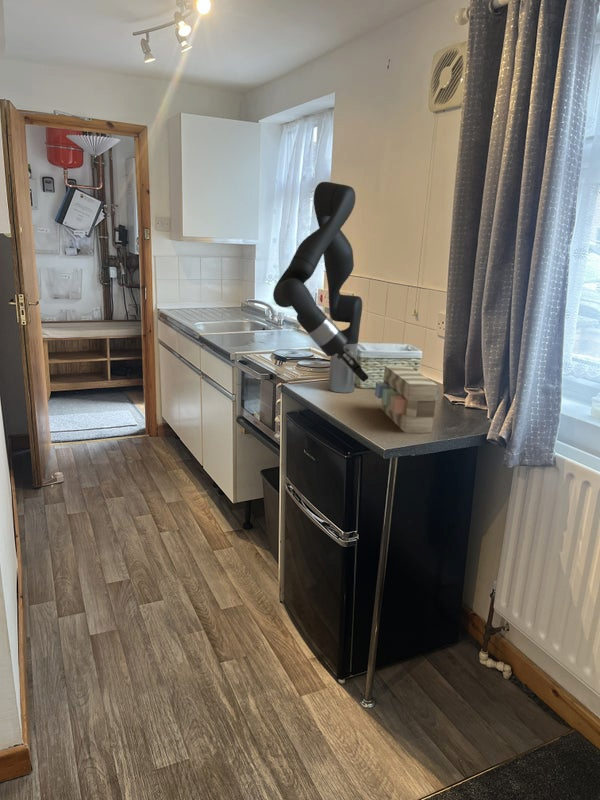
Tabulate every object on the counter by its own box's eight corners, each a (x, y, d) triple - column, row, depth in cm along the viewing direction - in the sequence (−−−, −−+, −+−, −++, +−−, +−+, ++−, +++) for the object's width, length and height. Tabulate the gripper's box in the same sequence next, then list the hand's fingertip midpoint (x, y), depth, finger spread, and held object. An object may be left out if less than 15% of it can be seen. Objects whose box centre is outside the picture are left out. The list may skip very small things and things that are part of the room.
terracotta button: (389, 409, 169) (391, 395, 168) (400, 409, 169) (401, 396, 168) (394, 413, 165) (395, 399, 164) (404, 413, 165) (406, 399, 164)
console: (380, 408, 188) (385, 365, 184) (404, 408, 189) (409, 366, 185) (404, 432, 165) (409, 384, 161) (431, 432, 166) (437, 384, 162)
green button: (382, 401, 176) (383, 388, 175) (392, 401, 177) (393, 389, 176) (385, 405, 172) (387, 392, 171) (396, 405, 173) (397, 392, 172)
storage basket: (355, 389, 211) (359, 349, 207) (346, 378, 226) (349, 341, 222) (419, 391, 214) (424, 351, 210) (406, 380, 229) (410, 343, 225)
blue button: (374, 394, 184) (376, 382, 183) (384, 395, 184) (385, 382, 183) (378, 398, 180) (379, 385, 179) (388, 398, 181) (389, 385, 179)
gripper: (342, 331, 160) (381, 375, 165) (332, 324, 172) (369, 365, 177) (321, 349, 160) (361, 393, 165) (313, 341, 173) (350, 382, 178)
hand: (365, 379), depth 171 cm, fingers closed
